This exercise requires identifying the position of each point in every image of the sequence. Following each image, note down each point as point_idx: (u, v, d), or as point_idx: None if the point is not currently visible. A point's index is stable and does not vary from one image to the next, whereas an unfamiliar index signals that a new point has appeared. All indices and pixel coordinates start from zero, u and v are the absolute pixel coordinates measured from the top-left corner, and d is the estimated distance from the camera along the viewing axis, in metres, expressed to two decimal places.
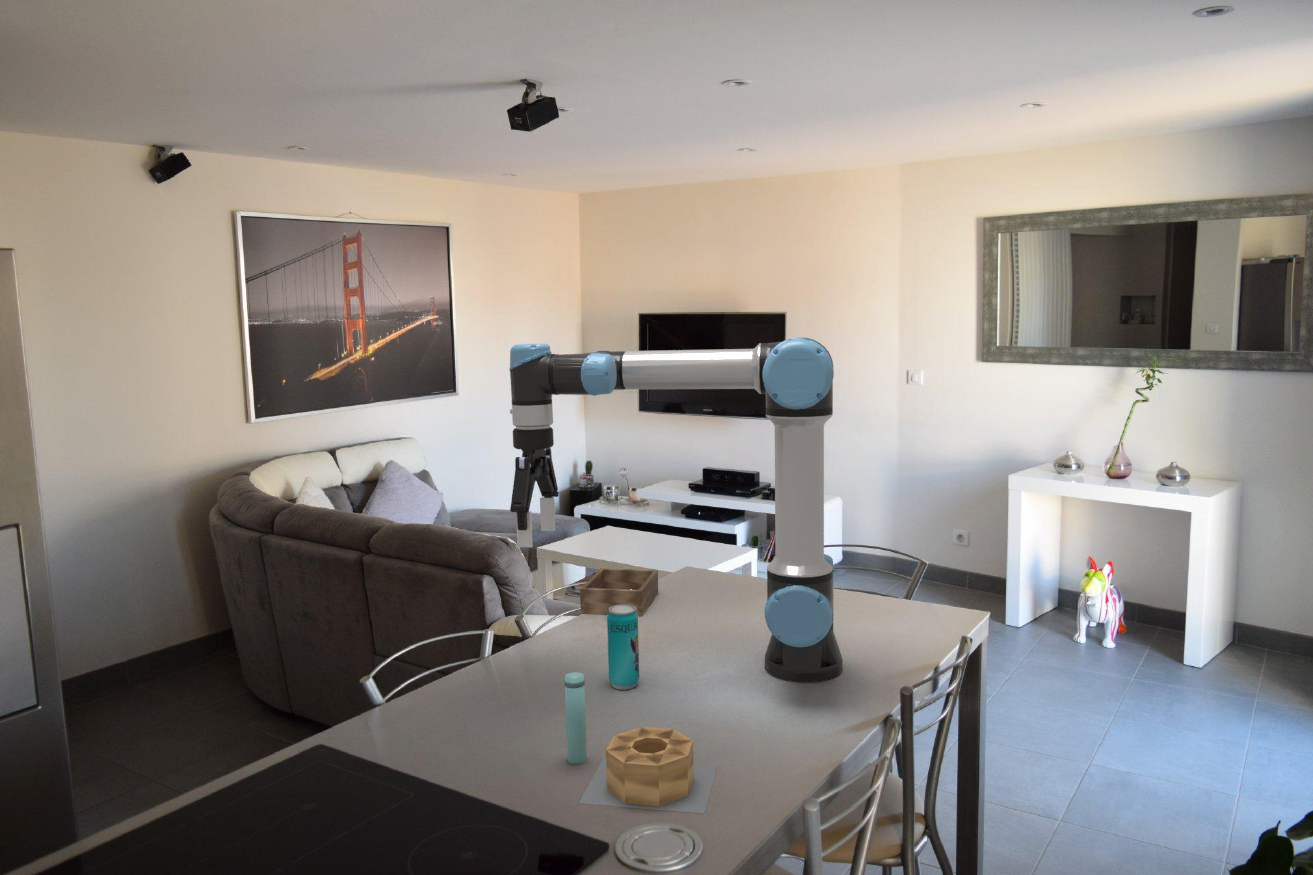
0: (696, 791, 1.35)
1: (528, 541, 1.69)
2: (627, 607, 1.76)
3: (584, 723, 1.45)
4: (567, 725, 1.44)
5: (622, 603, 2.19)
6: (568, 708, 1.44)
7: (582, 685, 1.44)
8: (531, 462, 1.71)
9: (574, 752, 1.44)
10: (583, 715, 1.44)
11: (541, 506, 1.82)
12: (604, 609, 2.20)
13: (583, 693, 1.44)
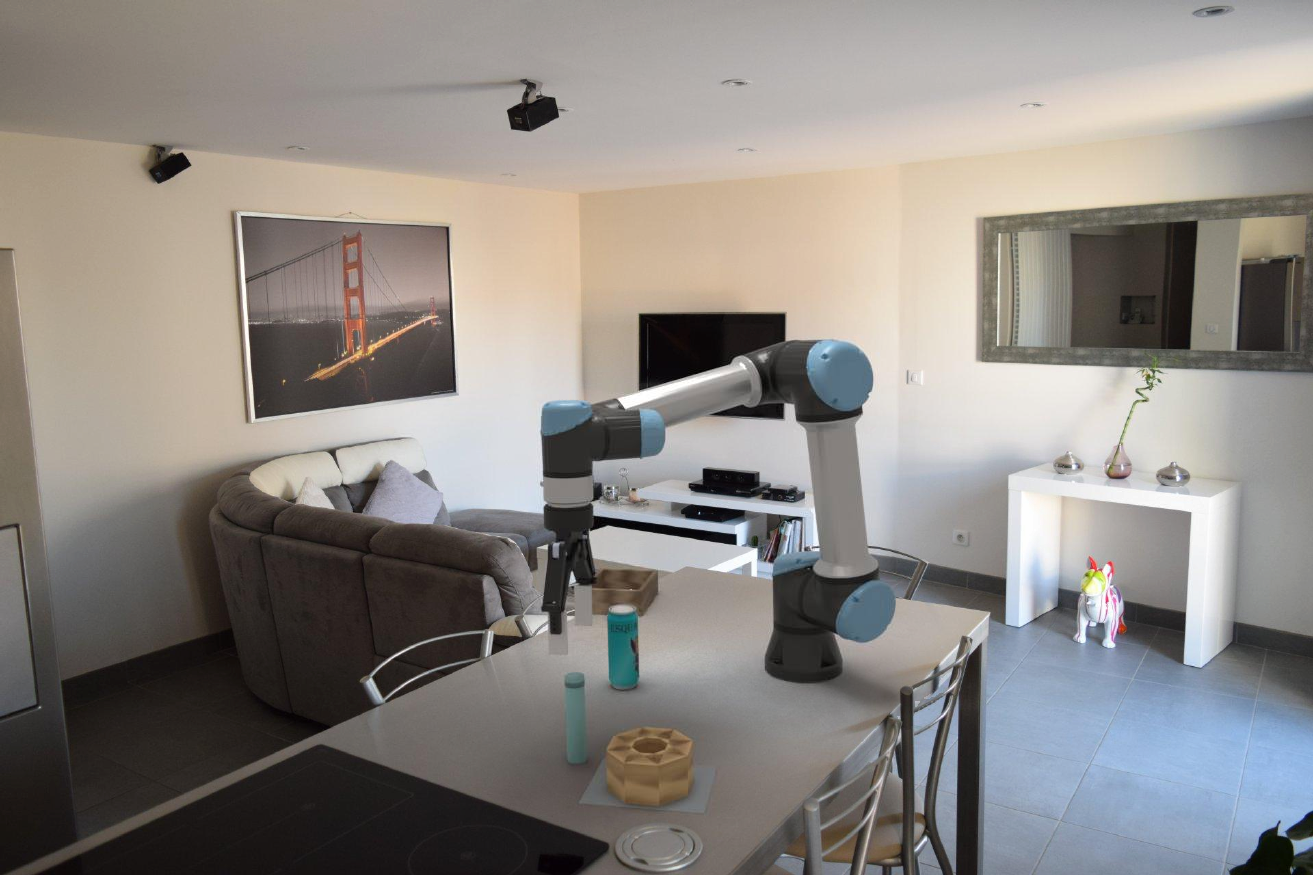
0: (696, 791, 1.35)
1: (563, 647, 1.36)
2: (627, 607, 1.76)
3: (584, 723, 1.45)
4: (567, 725, 1.44)
5: (622, 603, 2.19)
6: (568, 708, 1.44)
7: (582, 685, 1.44)
8: (567, 548, 1.38)
9: (574, 752, 1.44)
10: (583, 715, 1.44)
11: (576, 596, 1.49)
12: (604, 609, 2.20)
13: (583, 693, 1.44)
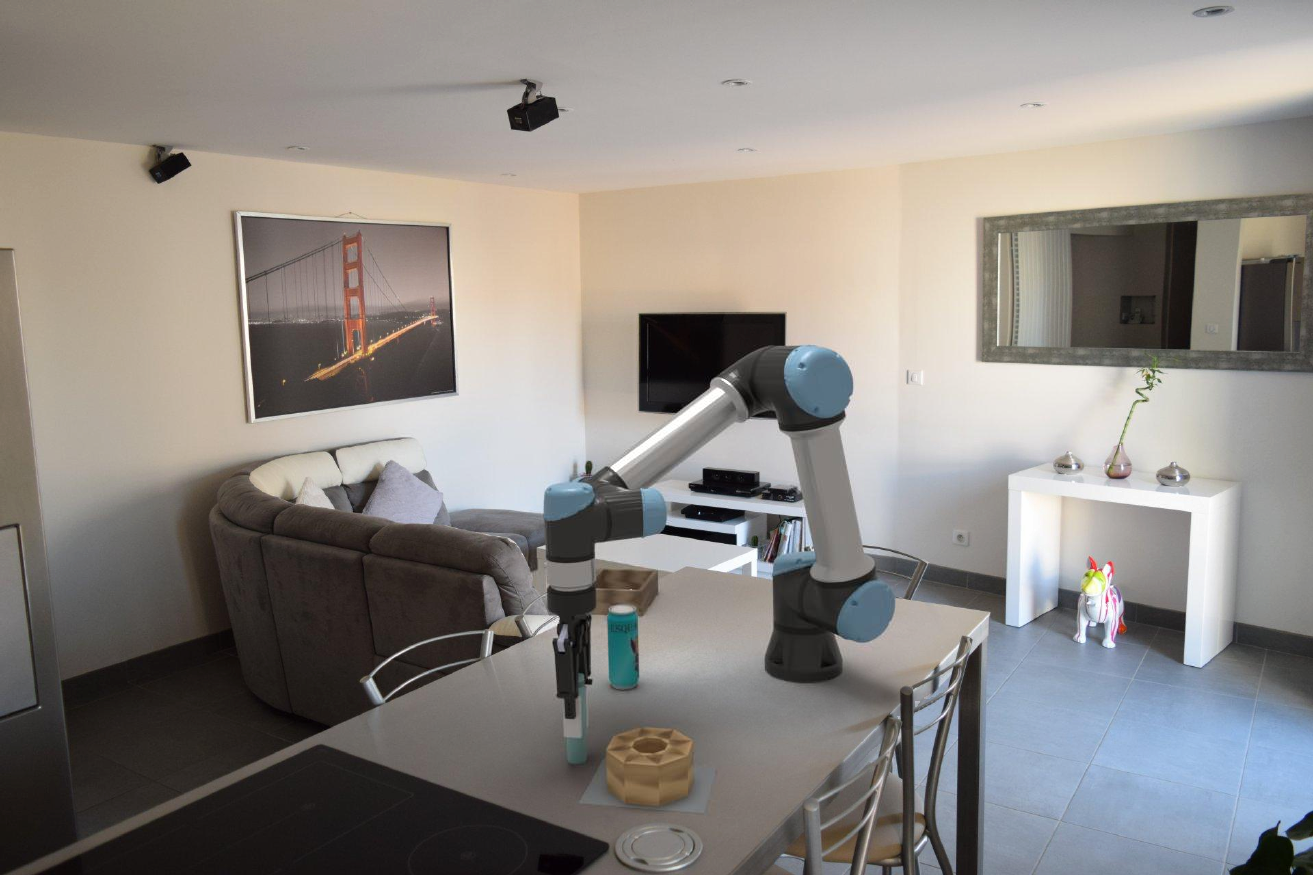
0: (696, 791, 1.35)
1: (577, 730, 1.43)
2: (627, 607, 1.76)
3: (584, 723, 1.45)
4: None
5: (622, 603, 2.19)
6: None
7: (582, 685, 1.44)
8: (571, 634, 1.40)
9: (574, 752, 1.44)
10: (583, 715, 1.44)
11: None
12: (604, 609, 2.20)
13: (583, 693, 1.44)
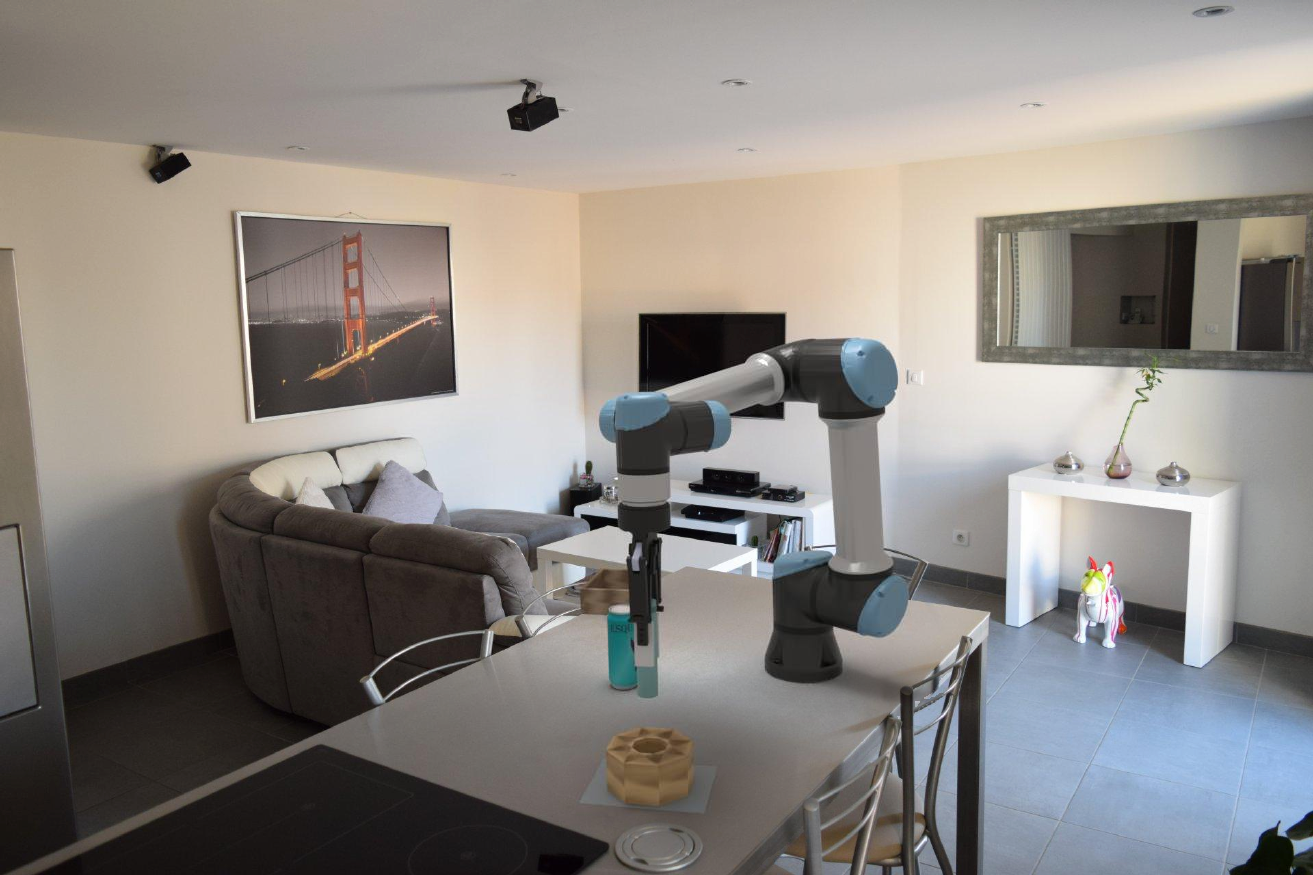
0: (696, 791, 1.35)
1: (649, 659, 1.33)
2: (627, 607, 1.76)
3: (656, 652, 1.34)
4: None
5: (622, 603, 2.19)
6: None
7: (655, 610, 1.33)
8: (645, 552, 1.29)
9: (646, 683, 1.34)
10: (655, 643, 1.34)
11: None
12: (604, 609, 2.20)
13: (655, 619, 1.34)
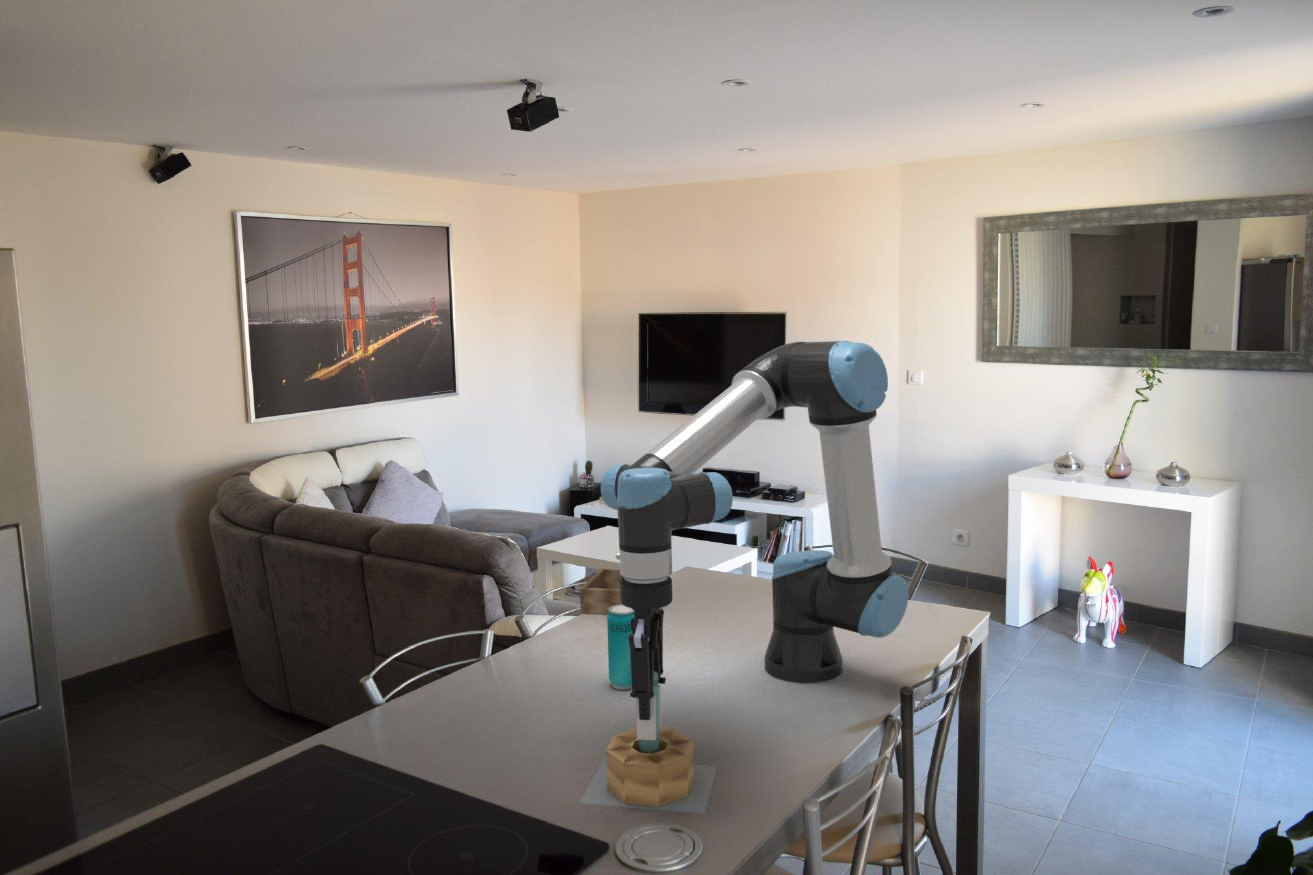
0: (696, 791, 1.35)
1: (651, 732, 1.34)
2: (627, 607, 1.76)
3: (658, 724, 1.36)
4: None
5: None
6: None
7: (656, 683, 1.35)
8: (647, 629, 1.31)
9: None
10: (657, 716, 1.35)
11: None
12: (604, 609, 2.20)
13: (657, 692, 1.35)
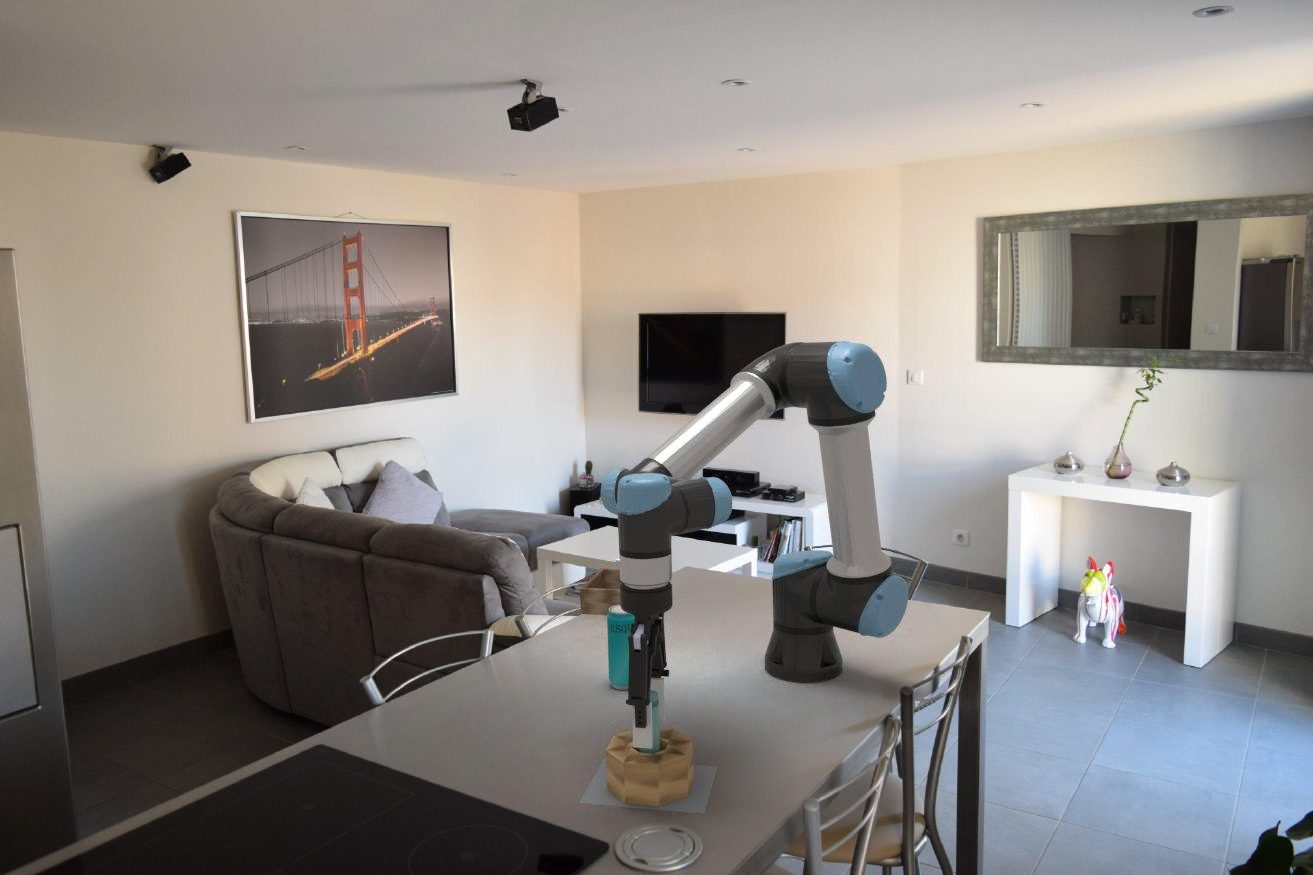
0: (696, 791, 1.35)
1: (648, 740, 1.31)
2: None
3: (658, 744, 1.36)
4: None
5: None
6: None
7: (657, 704, 1.35)
8: (647, 633, 1.31)
9: None
10: (657, 735, 1.35)
11: None
12: (604, 609, 2.20)
13: (657, 712, 1.35)
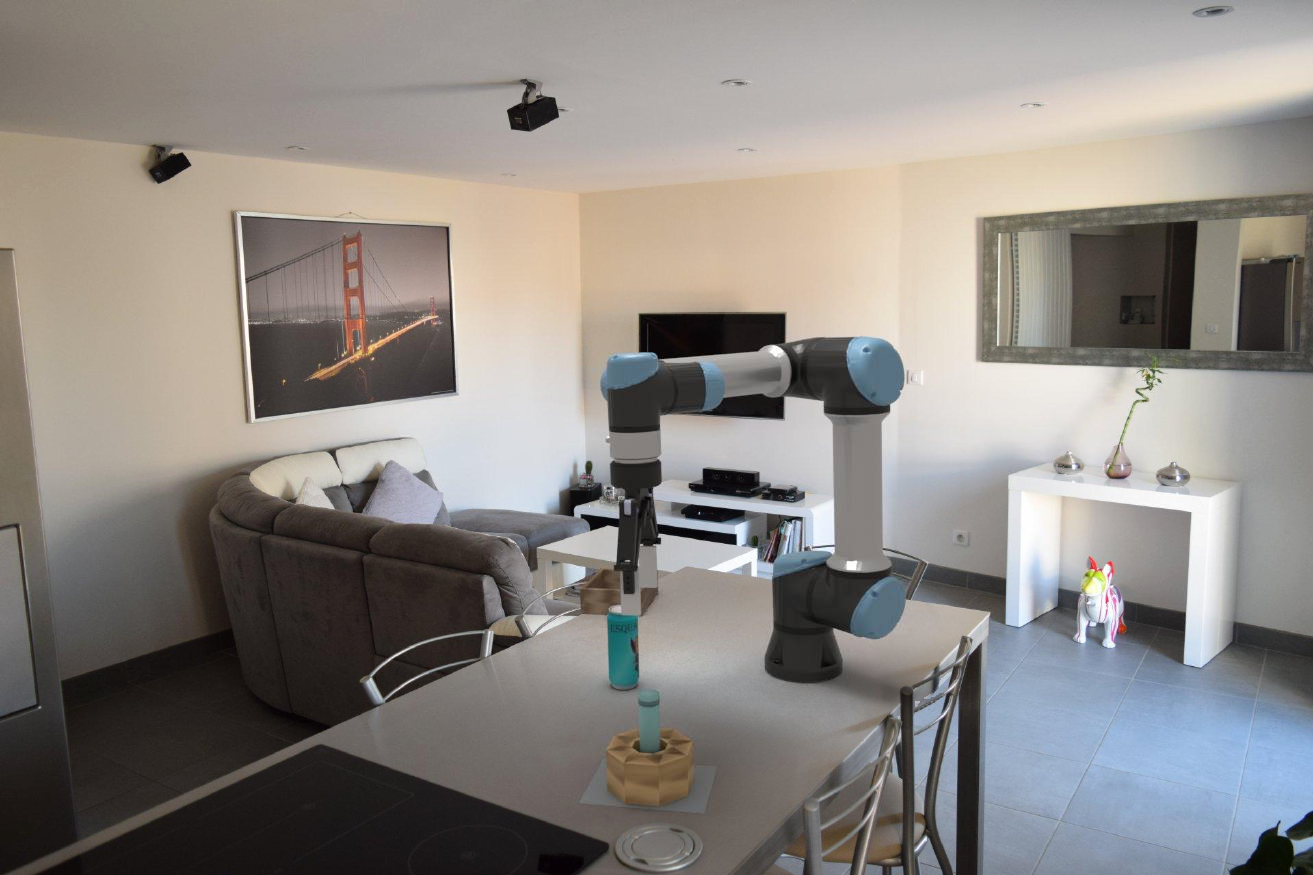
0: (696, 791, 1.35)
1: (636, 607, 1.31)
2: None
3: (659, 743, 1.36)
4: (641, 745, 1.36)
5: None
6: (642, 728, 1.35)
7: (657, 703, 1.35)
8: (637, 505, 1.33)
9: None
10: (658, 735, 1.36)
11: (640, 557, 1.45)
12: (604, 609, 2.20)
13: (658, 712, 1.35)
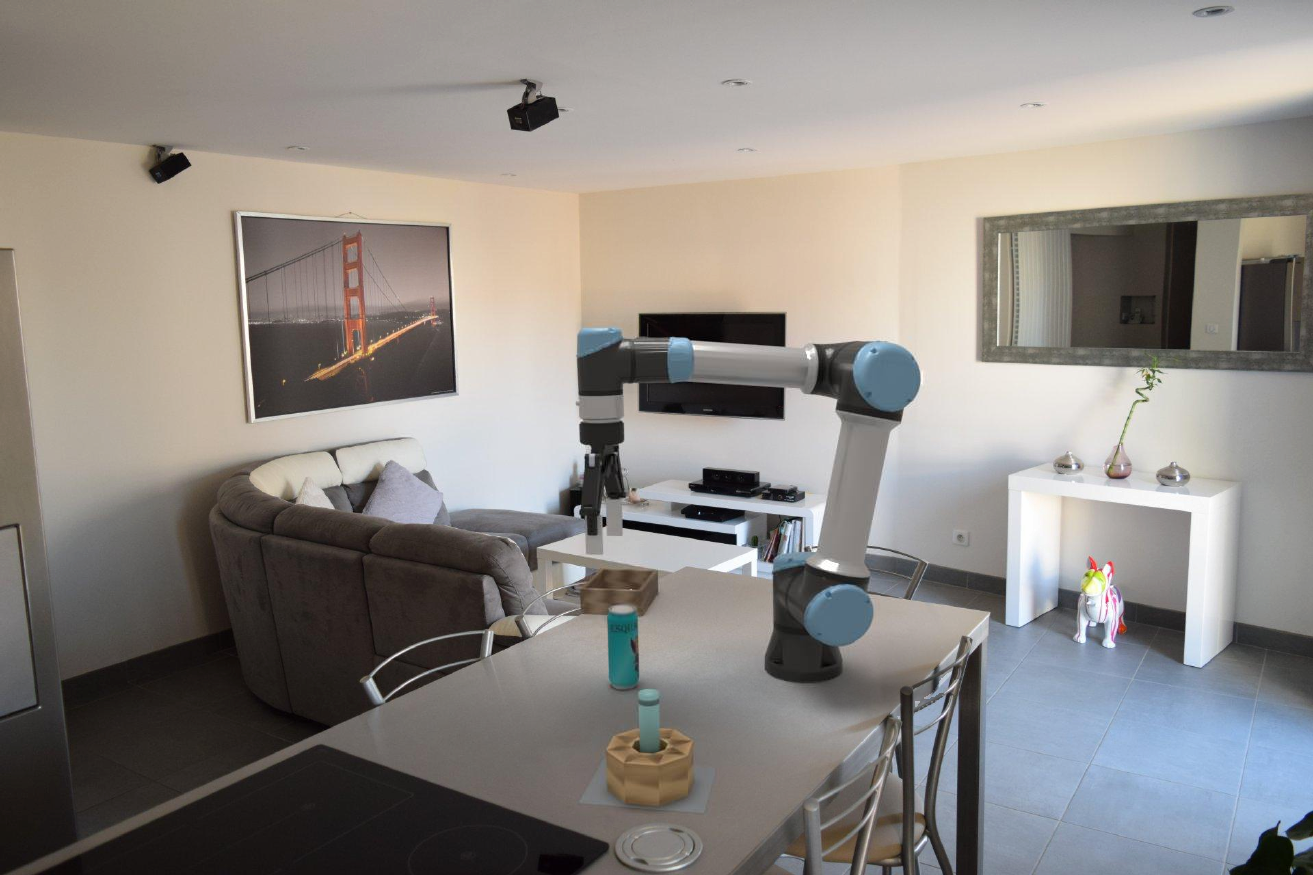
0: (696, 791, 1.35)
1: (598, 548, 1.51)
2: (627, 607, 1.76)
3: (659, 743, 1.36)
4: (641, 745, 1.36)
5: (622, 603, 2.19)
6: (642, 727, 1.35)
7: (657, 702, 1.35)
8: (601, 459, 1.53)
9: None
10: (658, 734, 1.36)
11: (607, 508, 1.64)
12: (604, 609, 2.20)
13: (658, 711, 1.36)
